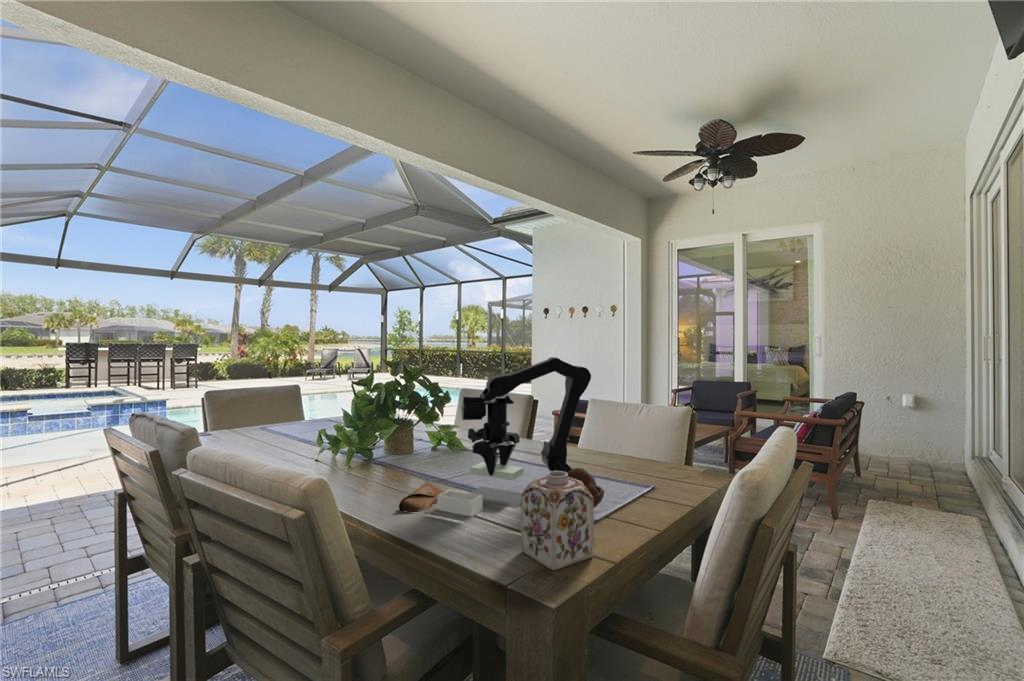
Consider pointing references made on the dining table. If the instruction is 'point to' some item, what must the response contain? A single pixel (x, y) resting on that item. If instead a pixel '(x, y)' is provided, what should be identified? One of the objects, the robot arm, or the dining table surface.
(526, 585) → the dining table surface
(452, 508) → the white rectangular box
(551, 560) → the decorative jar
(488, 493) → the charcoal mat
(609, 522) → the dining table surface
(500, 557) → the dining table surface
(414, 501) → the sunglasses case
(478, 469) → the sage lid
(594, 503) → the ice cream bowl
